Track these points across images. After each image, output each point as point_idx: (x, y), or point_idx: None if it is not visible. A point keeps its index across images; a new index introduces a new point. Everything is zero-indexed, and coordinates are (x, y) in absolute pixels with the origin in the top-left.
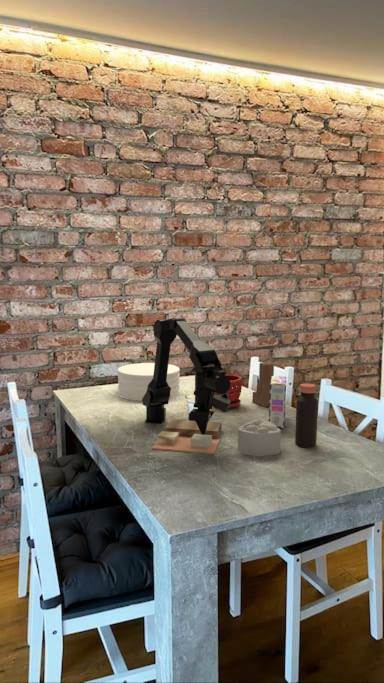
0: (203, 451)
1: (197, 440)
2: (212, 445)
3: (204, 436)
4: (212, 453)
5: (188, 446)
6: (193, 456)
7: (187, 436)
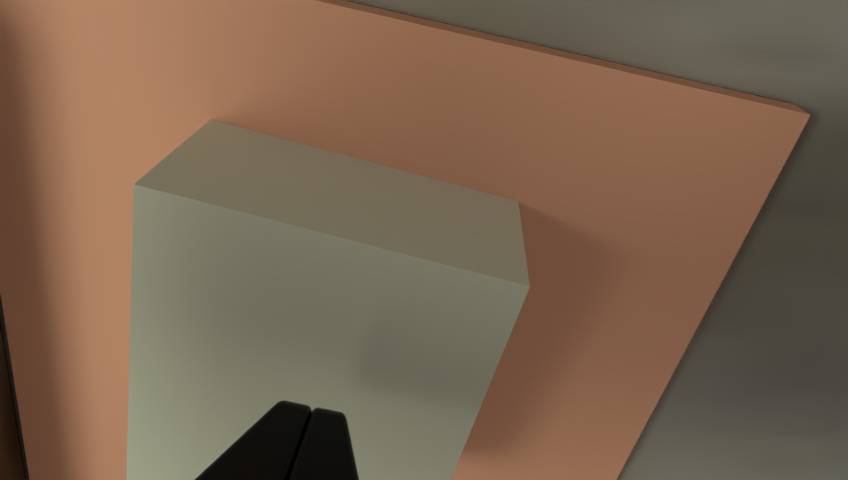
0: (695, 300)
1: (450, 460)
2: (378, 120)
3: (253, 352)
4: (786, 140)
5: None
6: (795, 420)
7: (7, 458)
